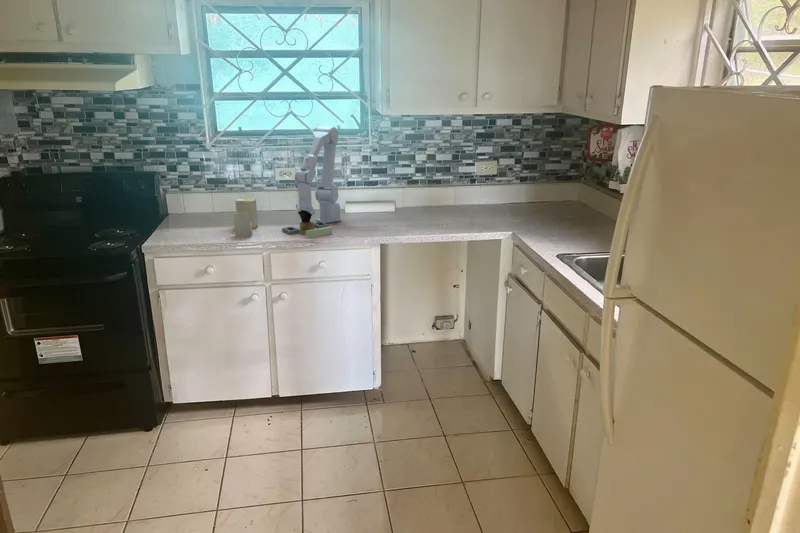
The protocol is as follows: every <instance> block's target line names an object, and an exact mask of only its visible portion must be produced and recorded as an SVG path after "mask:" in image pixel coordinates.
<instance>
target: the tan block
mask: <svg viewBox="0 0 800 533" xmlns="http://www.w3.org/2000/svg"><path fill="white" fill-rule="evenodd" d="M314 223H315V222H314V221H310V222H302V221H301V222H299V230H300V235H306V230H312V229H316V228H315V225H314Z"/></svg>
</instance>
